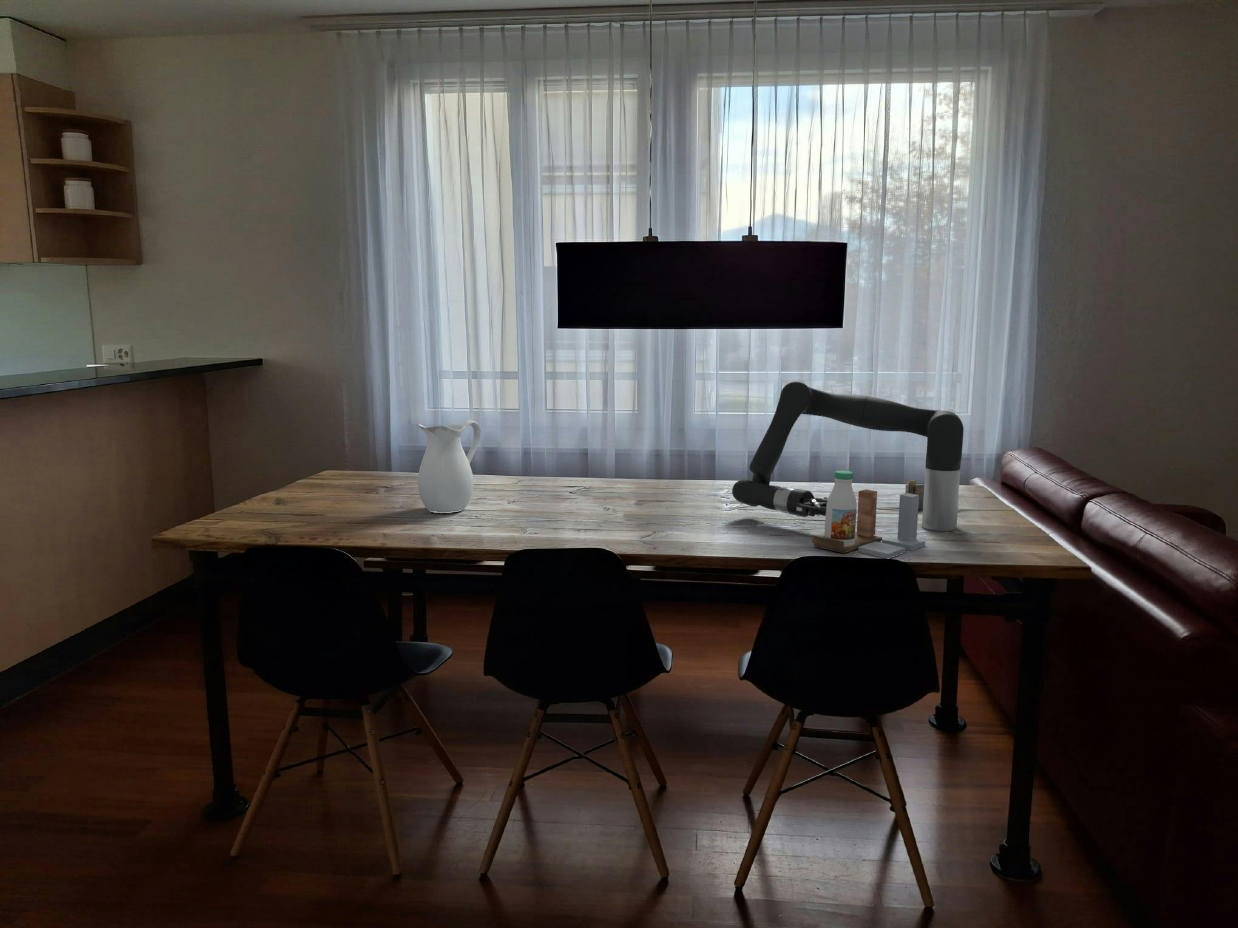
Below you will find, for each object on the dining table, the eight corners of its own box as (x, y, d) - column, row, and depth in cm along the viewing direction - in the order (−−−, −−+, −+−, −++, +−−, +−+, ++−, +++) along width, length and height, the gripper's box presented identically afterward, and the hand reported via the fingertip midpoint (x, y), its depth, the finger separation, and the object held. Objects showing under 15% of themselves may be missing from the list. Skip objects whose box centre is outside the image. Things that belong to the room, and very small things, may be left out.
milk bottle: (818, 547, 219) (823, 471, 216) (830, 540, 225) (835, 467, 222) (847, 552, 215) (852, 475, 211) (858, 546, 221) (864, 471, 217)
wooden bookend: (854, 533, 233) (857, 487, 231) (884, 540, 226) (886, 492, 224) (812, 546, 220) (814, 498, 218) (841, 553, 213) (844, 503, 211)
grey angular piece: (895, 539, 228) (898, 491, 226) (924, 545, 222) (928, 496, 219) (858, 551, 216) (860, 501, 214) (888, 558, 210) (891, 506, 208)
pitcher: (444, 519, 252) (440, 427, 248) (407, 511, 262) (403, 423, 258) (500, 505, 271) (498, 419, 266) (465, 498, 281) (462, 415, 276)
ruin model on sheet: (907, 509, 265) (908, 479, 263) (904, 507, 268) (906, 477, 266) (943, 510, 264) (945, 480, 263) (940, 508, 267) (942, 478, 266)
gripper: (778, 492, 234) (827, 501, 222) (809, 485, 243) (858, 493, 231) (777, 518, 235) (826, 528, 223) (808, 510, 244) (857, 520, 232)
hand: (842, 510), depth 227 cm, fingers open, 8 cm apart
